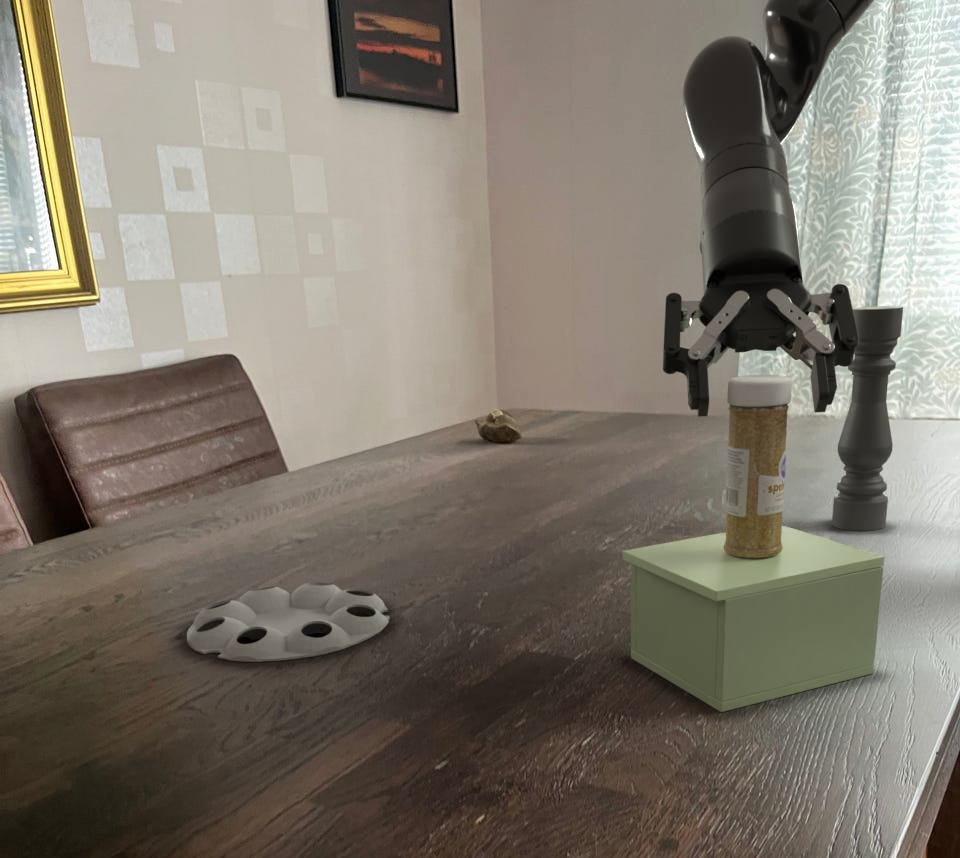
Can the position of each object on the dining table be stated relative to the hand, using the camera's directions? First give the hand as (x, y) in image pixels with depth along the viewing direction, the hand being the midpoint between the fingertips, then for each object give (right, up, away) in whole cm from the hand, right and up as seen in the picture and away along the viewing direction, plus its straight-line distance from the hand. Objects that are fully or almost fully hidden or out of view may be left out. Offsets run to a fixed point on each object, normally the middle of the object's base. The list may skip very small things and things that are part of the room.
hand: (762, 408), depth 74 cm
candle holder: (+25, -3, +47) cm, 54 cm away
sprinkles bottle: (0, -10, +5) cm, 11 cm away
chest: (+1, -19, +8) cm, 21 cm away
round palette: (-40, -16, +24) cm, 49 cm away
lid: (0, -11, +5) cm, 12 cm away
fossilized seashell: (-17, +21, +117) cm, 120 cm away
